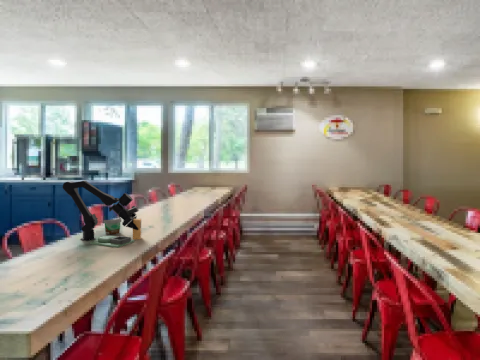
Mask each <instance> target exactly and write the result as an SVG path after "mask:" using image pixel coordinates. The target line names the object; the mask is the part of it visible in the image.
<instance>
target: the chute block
mask: <svg viewBox="0 0 480 360" xmlns="http://www.w3.org/2000/svg"><path fill="white" fill-rule="evenodd" d="M134 223H135V225H136V226H137V227H138V230H135V229H132V240H141V239H142V218H136V219H134Z"/></svg>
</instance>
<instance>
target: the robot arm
mask: <svg viewBox="0 0 480 360" xmlns="http://www.w3.org/2000/svg"><path fill="white" fill-rule="evenodd" d="M79 188H83V189H84V190H87V191H88V192H89V193H90V194H92V195H94V196H96V197H97V198H99V200H100V201H101V202H102V203H103V204H104V205H105V206H107V207H108V212H109V213H110V212H111V211H113V212H115V214H116V215H117V216H118V218H121V220H122V221H121V223H122V226H123V227H125V228H126V227H127V228H129V229H132V230H133V229H135V230H138V227H137V226H136V225H135V223H134V219H138V218H137V213H138V212H139V209H138V207H137V206H135V205H132V206H131V208H129V209H128V208H126V207H127V206H129V204H130V203H132V202H133V200H134V199H133V197H132V196H131V195H129V194H127V193H126V192H124V193H123V194H122V195H121V196H120V197H114V196H113V195H111V194H109V193H106V192H104V191H102V190H100V189H99V188H97V187H96V186H94V185H92V183H90V182H89V181H87V180H85V179H84V180H82V181H71V180H70V181H69V180H68V181H65V182H64V183H63V184H62V189H63V190H64V192H65V193H66V194H68V195H69V196H70V198H71V199H72V200H73V203H74V204H75V205H76V207H77V209H78V210H79V212H80V213H81V215H82V217H83V222H84V225H83V226H82V227H81V228H80V229H81V231H82V238H80V240H81V241H86V242H89V241H90V242H91V241H93V240H96V239H97V238H96V237H95V227H96V226H97V225H98V223H99V220H98V217H97V216H96V213H93V214H92V213H91V211H90V210H89V208H88V206H87V205H86V204H85V202H84V201H83V199H82V197H81V195H80V193H79Z"/></svg>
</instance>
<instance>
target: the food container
mask: <svg viewBox="0 0 480 360" xmlns="http://www.w3.org/2000/svg"><path fill="white" fill-rule="evenodd" d="M121 223H122V218H121V217H118V218H116V219H110V220H109V219H104V220H103V224H104V231H105V232H104V233H105V235H106V236H115V235H118V234H120V232H121V231H120V230H121Z"/></svg>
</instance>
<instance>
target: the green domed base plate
mask: <svg viewBox="0 0 480 360" xmlns="http://www.w3.org/2000/svg"><path fill="white" fill-rule="evenodd" d="M135 240H136V239H132V237H131V236H124V235H119V236H116V235H105V236H104V235H103V236H100V237H98V238H97V240H96V239H95V240H94V241H93V240H92V241H90V243H89V244H90V245H95V246H102V247H103V246H104V247H110V248H120V247H121V248H122V247H123V246H126V245H129V244H132V243H134V242H135Z"/></svg>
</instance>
